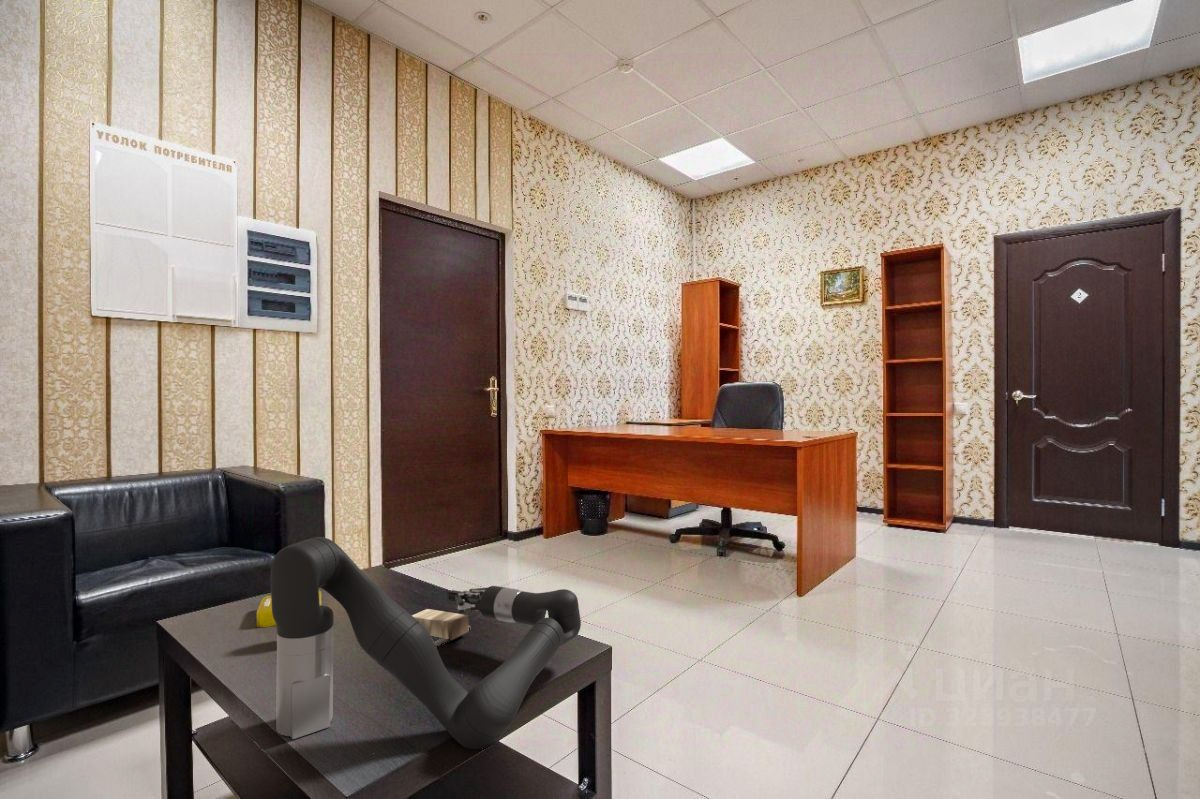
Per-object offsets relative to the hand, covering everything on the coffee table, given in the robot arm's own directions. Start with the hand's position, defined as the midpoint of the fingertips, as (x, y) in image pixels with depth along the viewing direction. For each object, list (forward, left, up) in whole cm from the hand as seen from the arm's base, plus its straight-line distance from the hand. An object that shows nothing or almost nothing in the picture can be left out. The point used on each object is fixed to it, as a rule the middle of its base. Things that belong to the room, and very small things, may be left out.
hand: (449, 595), depth 144 cm
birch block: (-4, -1, -7) cm, 8 cm away
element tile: (+42, +27, -11) cm, 51 cm away
